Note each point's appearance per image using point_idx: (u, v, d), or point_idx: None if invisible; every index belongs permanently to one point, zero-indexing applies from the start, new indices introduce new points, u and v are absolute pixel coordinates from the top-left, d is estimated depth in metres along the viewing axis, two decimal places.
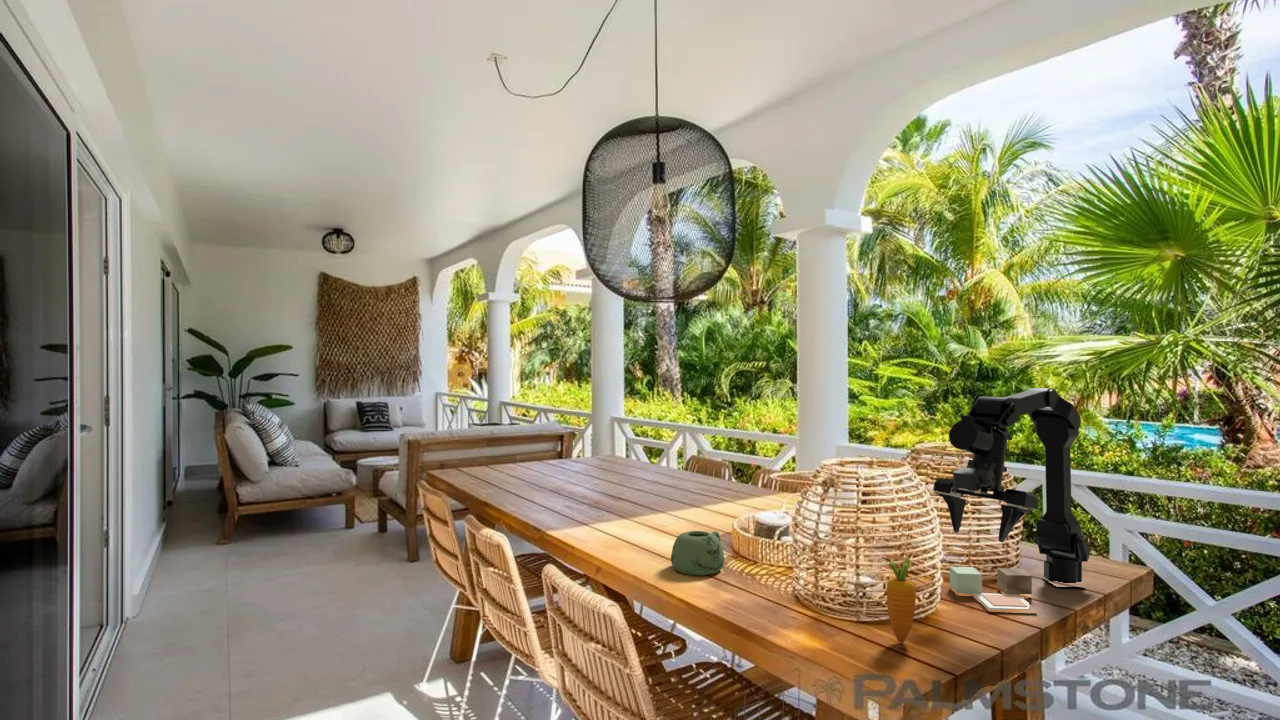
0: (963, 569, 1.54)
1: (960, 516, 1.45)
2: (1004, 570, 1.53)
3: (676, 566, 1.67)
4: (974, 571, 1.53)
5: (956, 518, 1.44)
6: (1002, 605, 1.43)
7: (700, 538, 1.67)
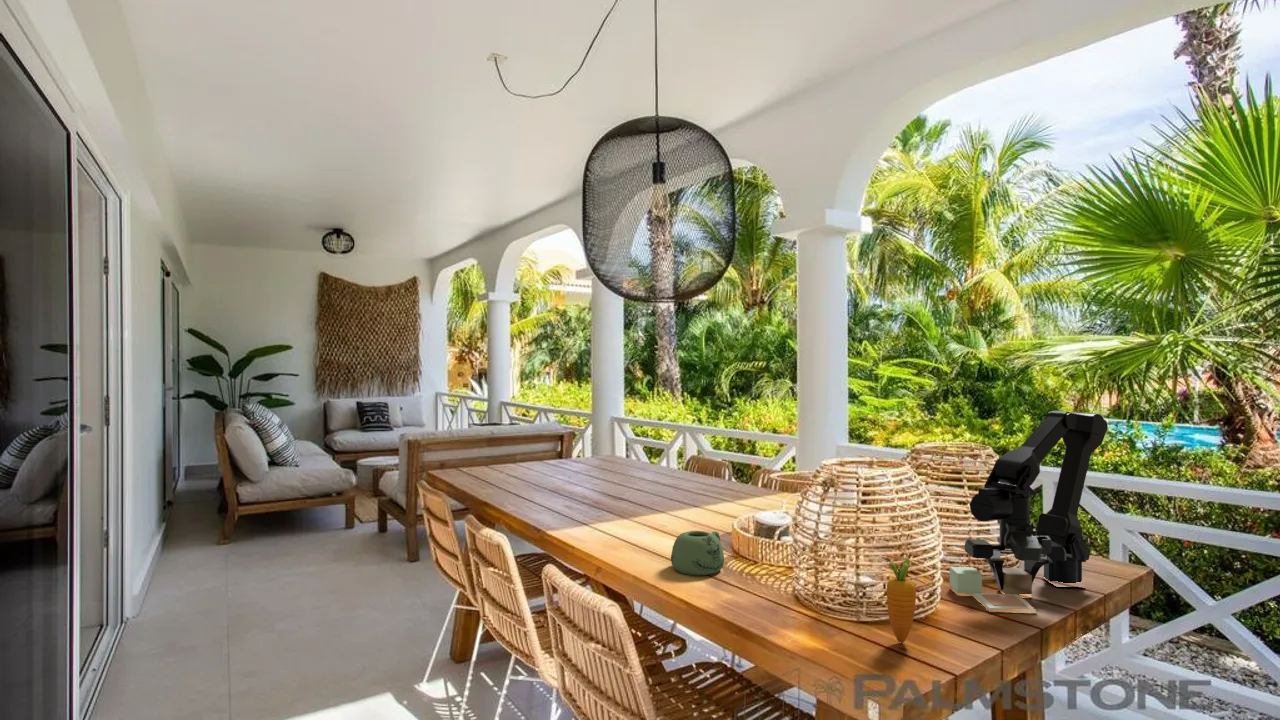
0: (963, 569, 1.54)
1: None
2: (1004, 570, 1.53)
3: (676, 566, 1.67)
4: (974, 571, 1.53)
5: None
6: (1002, 605, 1.43)
7: (700, 538, 1.67)
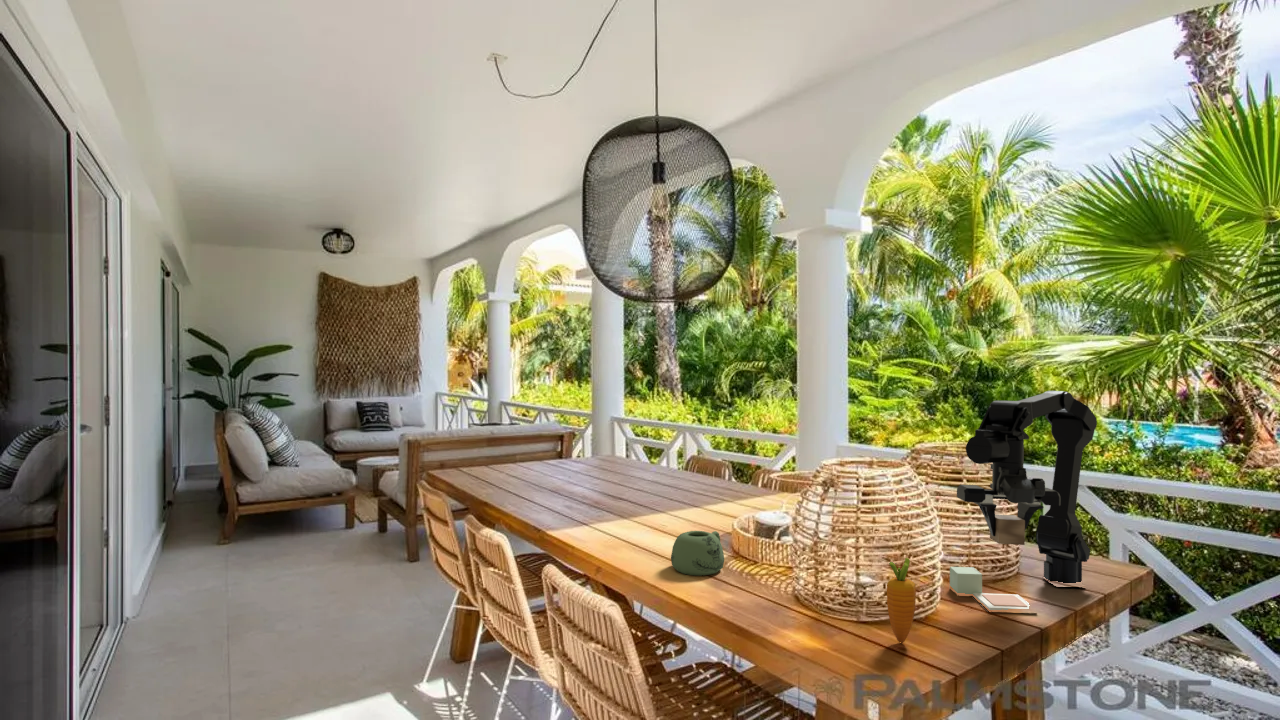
0: (963, 569, 1.54)
1: None
2: (997, 516, 1.49)
3: (676, 566, 1.67)
4: (974, 571, 1.53)
5: None
6: (1002, 605, 1.43)
7: (700, 538, 1.67)
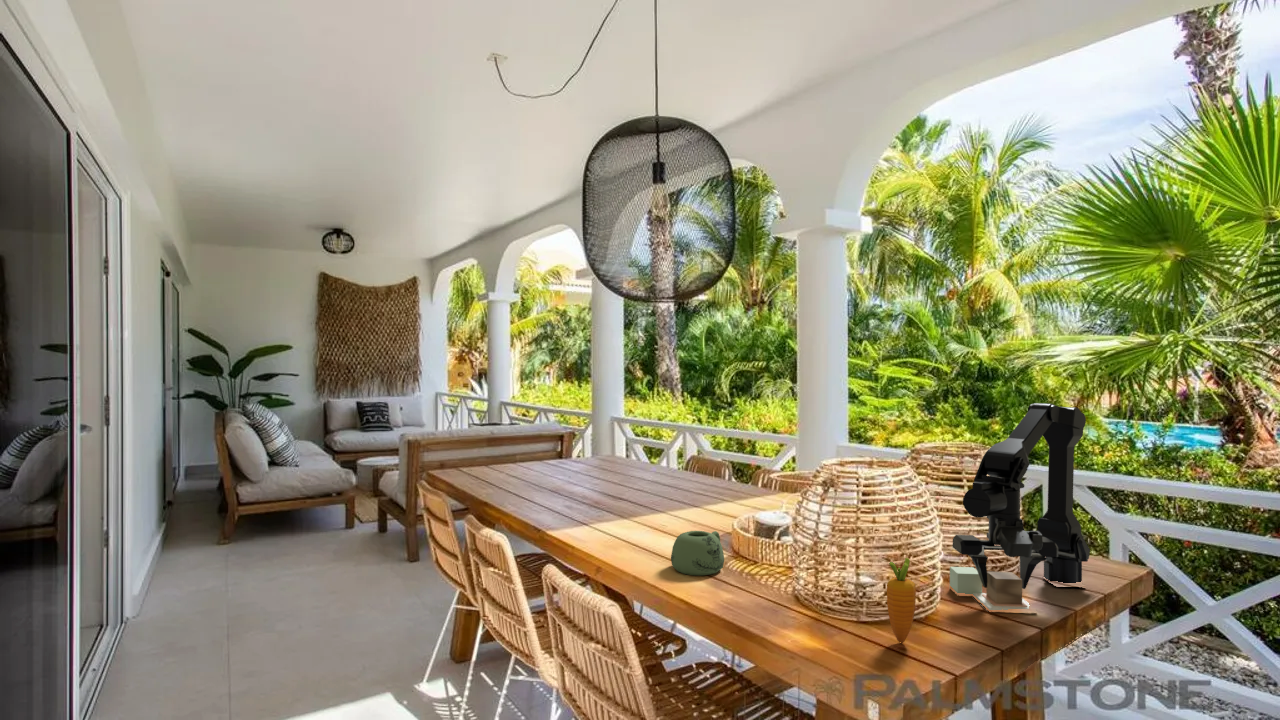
0: (963, 569, 1.54)
1: None
2: (993, 574, 1.46)
3: (676, 566, 1.67)
4: (974, 571, 1.53)
5: None
6: (1002, 605, 1.43)
7: (700, 538, 1.67)
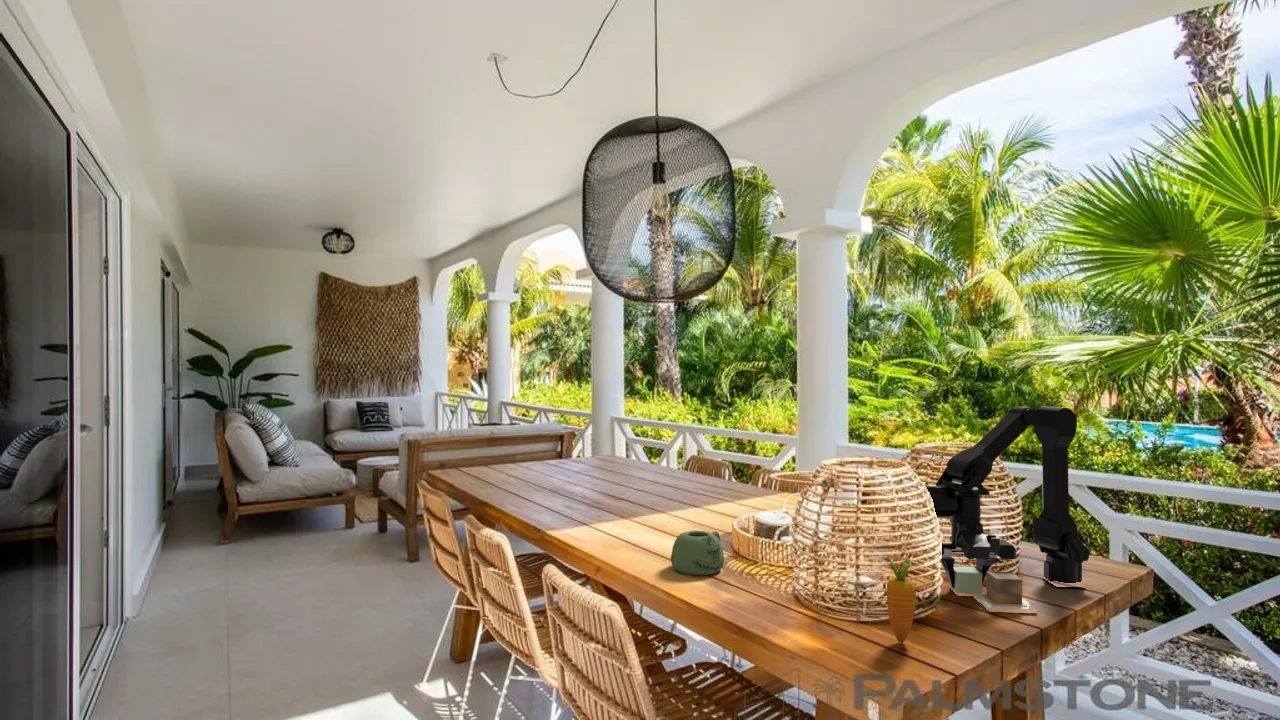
0: (963, 569, 1.54)
1: None
2: (993, 574, 1.46)
3: (676, 566, 1.67)
4: (974, 571, 1.53)
5: None
6: (1002, 605, 1.43)
7: (700, 538, 1.67)
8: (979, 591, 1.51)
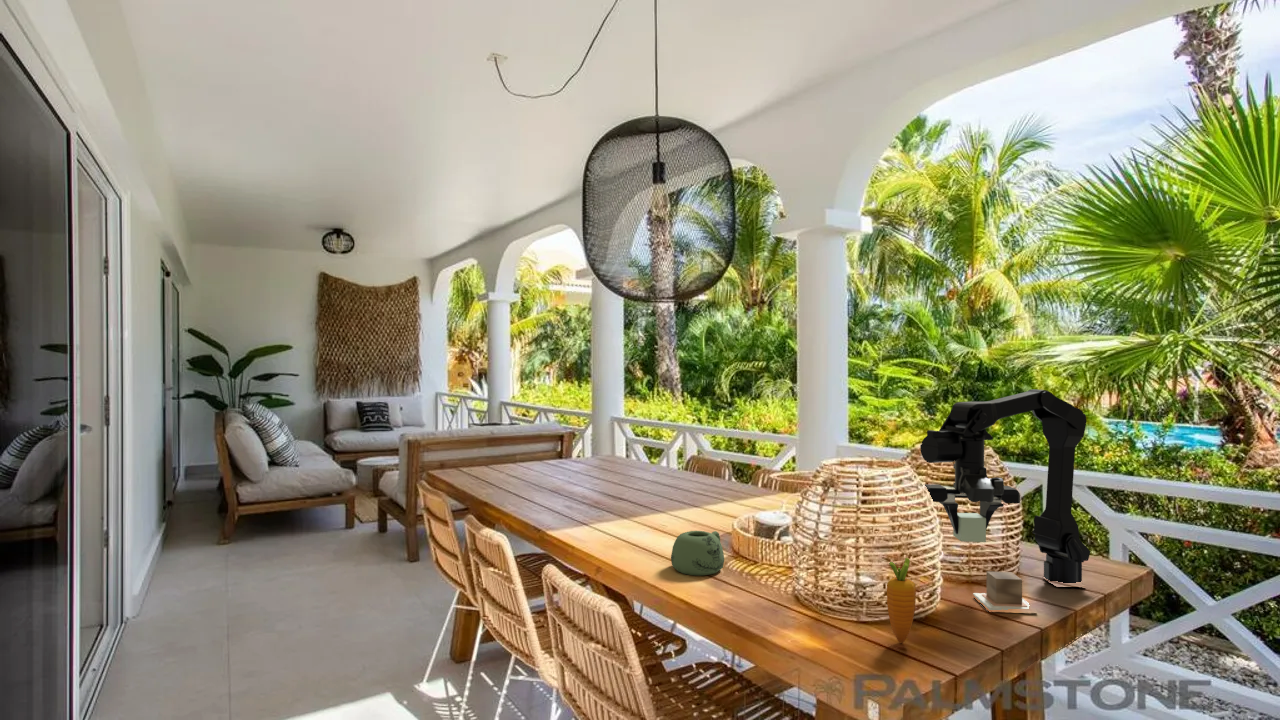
0: (967, 514, 1.53)
1: None
2: (993, 574, 1.46)
3: (676, 566, 1.67)
4: (978, 516, 1.52)
5: None
6: (1002, 605, 1.43)
7: (700, 538, 1.67)
8: (983, 536, 1.50)
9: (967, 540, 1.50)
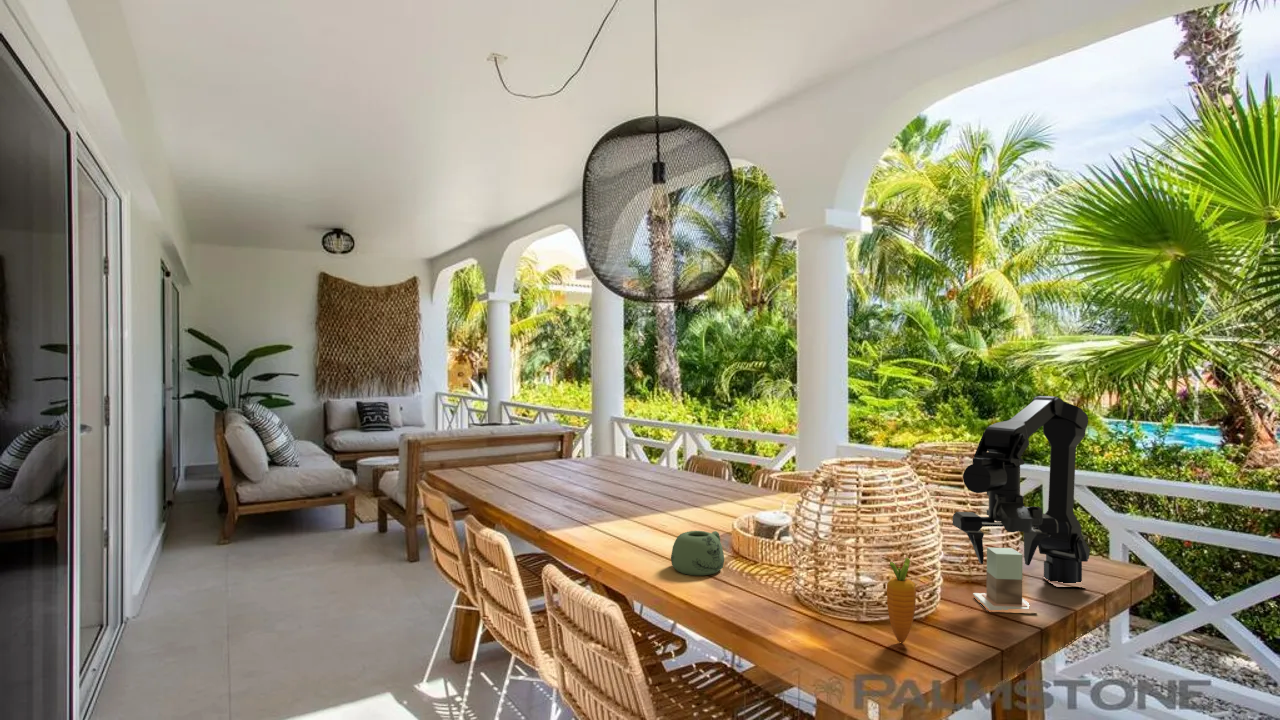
0: (1001, 550, 1.46)
1: None
2: None
3: (676, 566, 1.67)
4: (1013, 552, 1.45)
5: None
6: (1002, 605, 1.43)
7: (700, 538, 1.67)
8: (1019, 573, 1.43)
9: (1003, 577, 1.43)
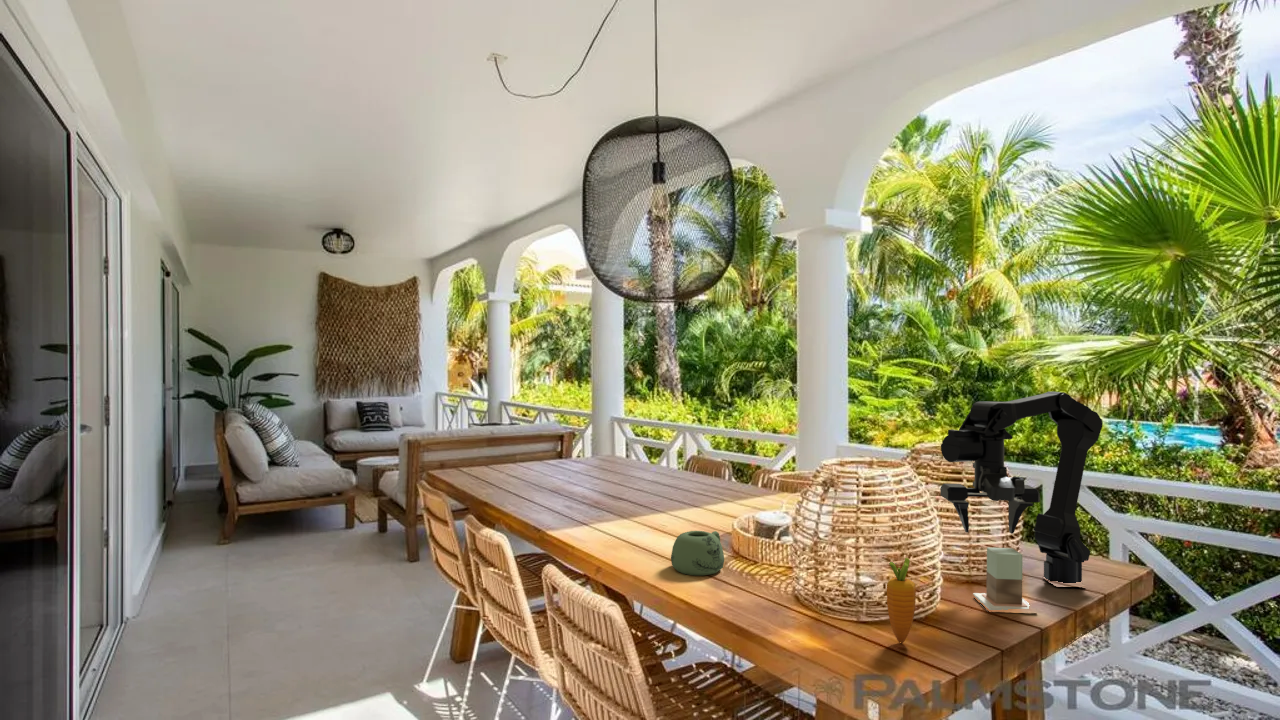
0: (1001, 550, 1.46)
1: None
2: None
3: (676, 566, 1.67)
4: (1013, 552, 1.45)
5: None
6: (1002, 605, 1.43)
7: (700, 538, 1.67)
8: (1019, 573, 1.43)
9: (1003, 577, 1.43)
